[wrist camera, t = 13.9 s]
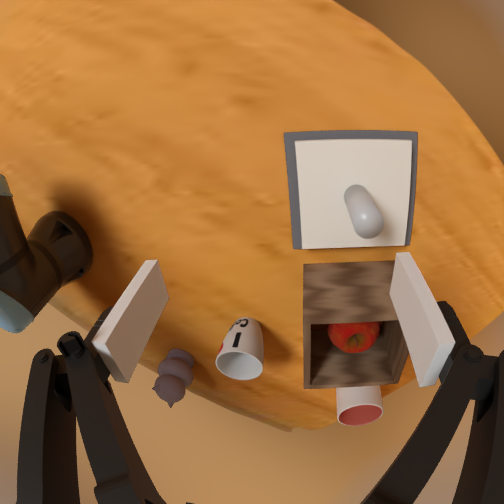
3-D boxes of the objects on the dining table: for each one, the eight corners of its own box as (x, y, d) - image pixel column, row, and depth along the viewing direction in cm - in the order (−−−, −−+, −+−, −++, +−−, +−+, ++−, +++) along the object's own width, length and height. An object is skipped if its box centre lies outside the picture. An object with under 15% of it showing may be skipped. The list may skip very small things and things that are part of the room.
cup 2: (327, 385, 66) (327, 421, 57) (352, 361, 60) (356, 400, 52) (360, 394, 66) (363, 429, 58) (386, 372, 61) (393, 408, 53)
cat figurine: (204, 368, 68) (190, 410, 58) (176, 370, 70) (161, 409, 60) (187, 344, 64) (170, 387, 54) (158, 347, 66) (140, 387, 56)
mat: (293, 248, 49) (293, 249, 48) (283, 132, 40) (283, 133, 39) (408, 244, 45) (409, 245, 45) (416, 131, 36) (417, 132, 36)
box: (305, 333, 58) (303, 388, 47) (303, 263, 50) (302, 318, 39) (385, 330, 55) (397, 383, 44) (398, 260, 47) (420, 312, 36)
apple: (321, 315, 55) (322, 360, 46) (331, 278, 50) (336, 322, 41) (364, 320, 54) (372, 364, 45) (378, 284, 50) (391, 328, 41)
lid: (302, 243, 48) (301, 284, 38) (294, 139, 40) (293, 157, 31) (401, 239, 45) (422, 279, 36) (407, 138, 37) (438, 156, 28)
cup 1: (248, 304, 56) (239, 344, 47) (277, 330, 58) (272, 370, 50) (218, 322, 59) (206, 361, 51) (247, 346, 62) (238, 384, 53)
